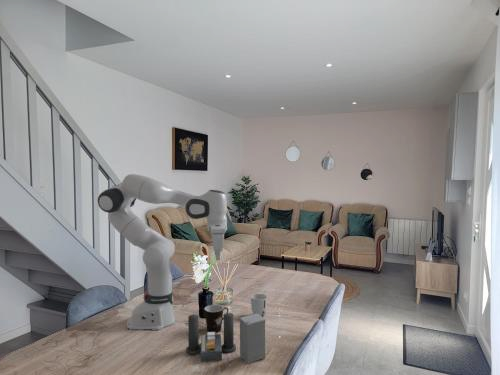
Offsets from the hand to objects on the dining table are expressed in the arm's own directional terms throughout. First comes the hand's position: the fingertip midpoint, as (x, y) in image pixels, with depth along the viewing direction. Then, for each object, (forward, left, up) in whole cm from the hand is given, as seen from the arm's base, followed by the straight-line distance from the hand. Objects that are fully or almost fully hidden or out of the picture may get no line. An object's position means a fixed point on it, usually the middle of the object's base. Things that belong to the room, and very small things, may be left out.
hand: (217, 257), depth 150 cm
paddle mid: (-3, -16, -30) cm, 35 cm away
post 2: (+4, -15, -34) cm, 37 cm away
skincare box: (+13, -23, -34) cm, 43 cm away
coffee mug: (0, +3, -34) cm, 34 cm away
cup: (+21, +15, -34) cm, 43 cm away
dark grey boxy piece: (-3, -16, -34) cm, 38 cm away
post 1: (-10, -15, -34) cm, 38 cm away
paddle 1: (-3, -12, -30) cm, 33 cm away
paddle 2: (-3, -20, -30) cm, 37 cm away
